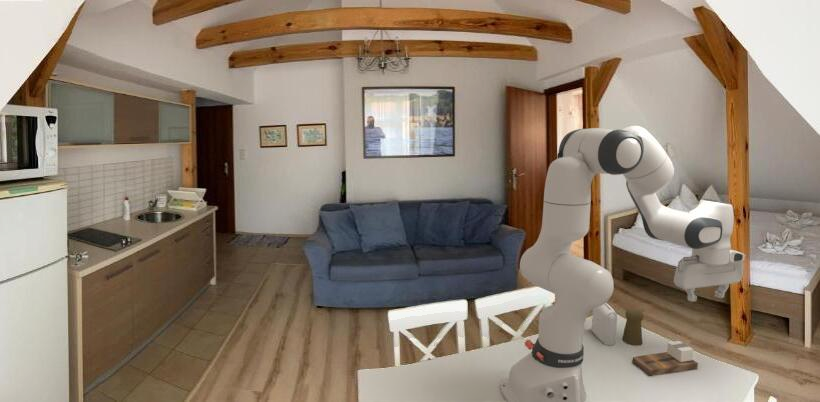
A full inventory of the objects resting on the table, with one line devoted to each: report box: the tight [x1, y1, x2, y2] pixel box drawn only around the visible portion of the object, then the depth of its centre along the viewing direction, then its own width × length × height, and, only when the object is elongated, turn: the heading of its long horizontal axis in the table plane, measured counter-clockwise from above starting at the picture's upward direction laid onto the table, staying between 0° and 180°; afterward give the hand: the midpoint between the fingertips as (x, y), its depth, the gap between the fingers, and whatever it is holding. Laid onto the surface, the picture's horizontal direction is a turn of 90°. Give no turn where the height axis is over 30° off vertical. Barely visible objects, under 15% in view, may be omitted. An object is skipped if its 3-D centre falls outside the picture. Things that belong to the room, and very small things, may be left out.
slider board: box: [632, 351, 699, 377], centre depth 121 cm, size 16×7×2 cm, turn 101°
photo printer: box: [591, 302, 618, 346], centre depth 136 cm, size 10×4×12 cm, turn 1°
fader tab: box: [666, 340, 694, 362], centre depth 121 cm, size 4×5×4 cm
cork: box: [621, 308, 644, 347], centre depth 134 cm, size 6×6×11 cm
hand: (705, 299), depth 119 cm, fingers open, 8 cm apart
